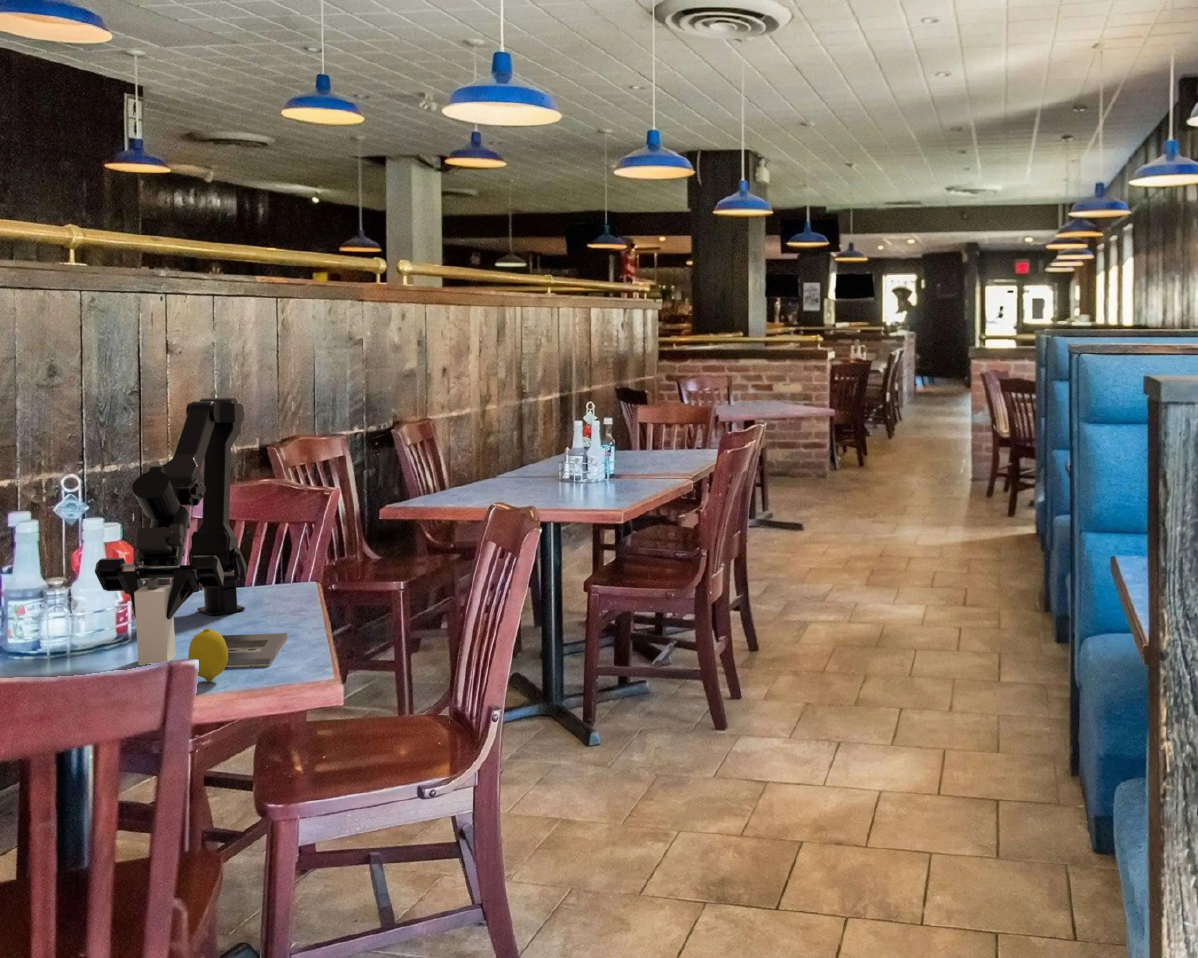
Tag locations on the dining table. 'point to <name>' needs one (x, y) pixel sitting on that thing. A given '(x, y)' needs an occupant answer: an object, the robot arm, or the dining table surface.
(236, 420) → the robot arm
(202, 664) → the lemon
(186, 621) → the dining table surface
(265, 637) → the socket plate
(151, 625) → the beige carton with cap
